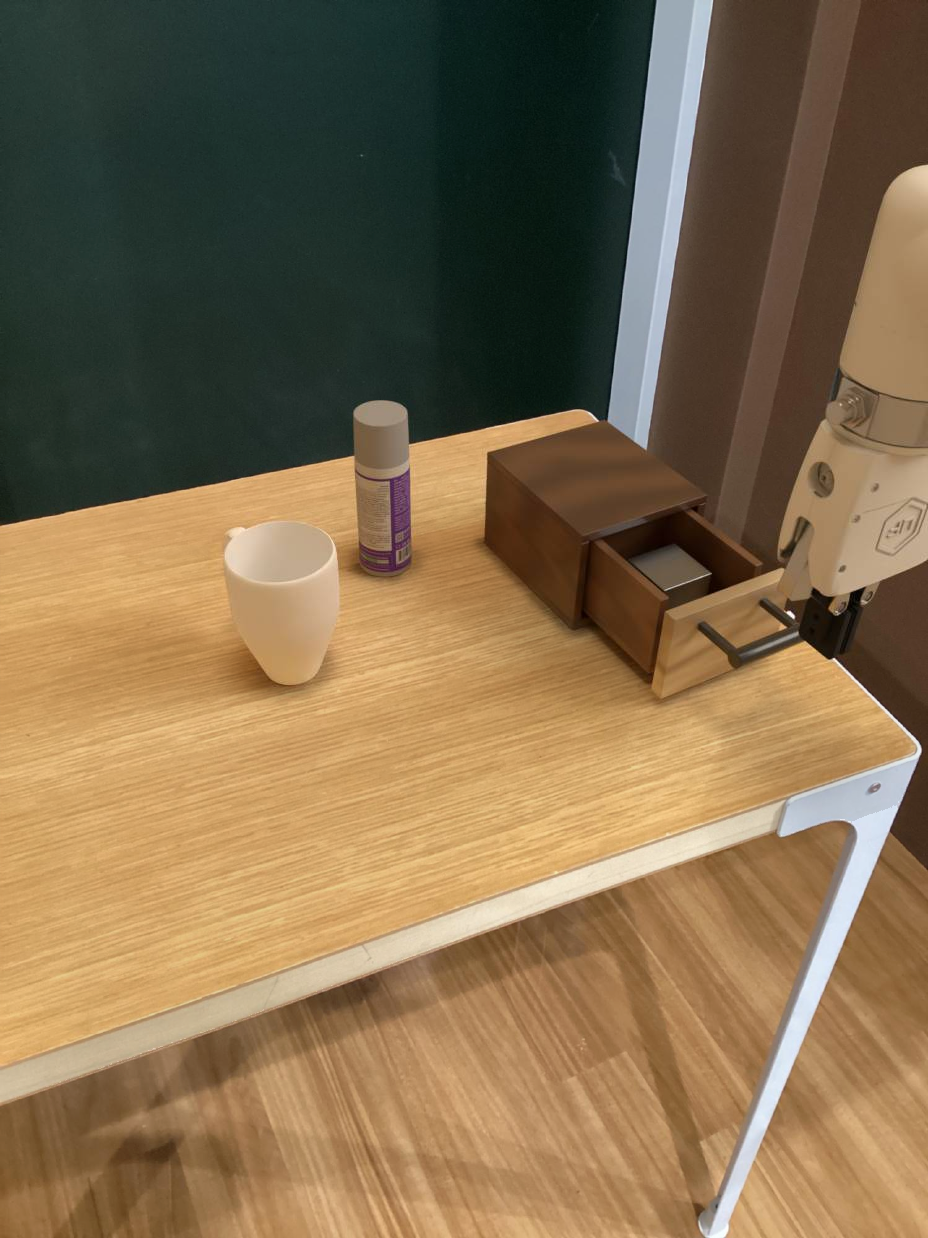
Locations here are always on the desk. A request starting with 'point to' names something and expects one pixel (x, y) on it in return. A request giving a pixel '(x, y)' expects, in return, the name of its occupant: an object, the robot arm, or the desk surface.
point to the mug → (283, 595)
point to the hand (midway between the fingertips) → (822, 644)
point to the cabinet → (574, 505)
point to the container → (383, 487)
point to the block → (674, 574)
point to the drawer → (696, 631)
